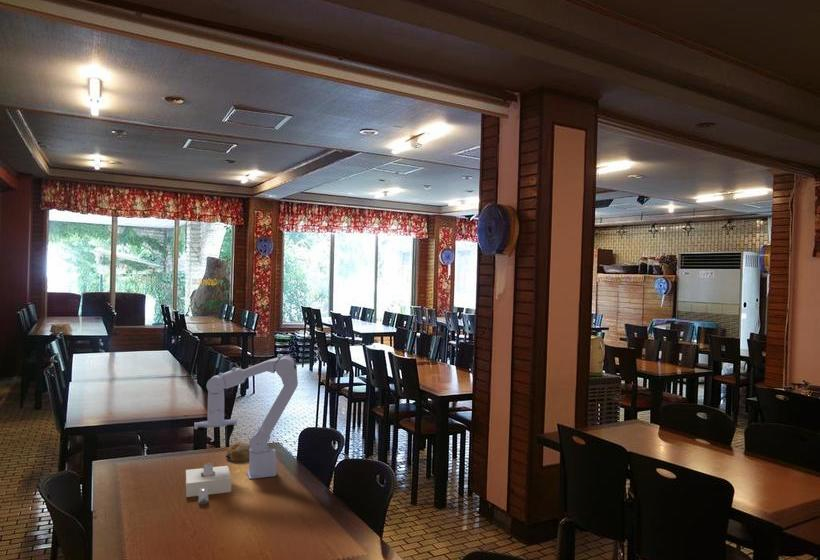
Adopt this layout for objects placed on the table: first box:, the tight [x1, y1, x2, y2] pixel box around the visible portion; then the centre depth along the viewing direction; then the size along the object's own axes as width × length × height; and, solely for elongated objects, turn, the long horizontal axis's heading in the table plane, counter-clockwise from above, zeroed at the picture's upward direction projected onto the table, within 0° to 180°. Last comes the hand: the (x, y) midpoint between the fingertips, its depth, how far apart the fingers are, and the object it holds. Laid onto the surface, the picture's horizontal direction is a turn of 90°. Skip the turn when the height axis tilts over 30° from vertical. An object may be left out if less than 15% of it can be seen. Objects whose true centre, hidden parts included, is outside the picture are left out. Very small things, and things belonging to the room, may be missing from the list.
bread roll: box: [225, 441, 250, 462], centre depth 231 cm, size 10×10×8 cm
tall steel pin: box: [203, 462, 214, 477], centre depth 199 cm, size 3×3×8 cm
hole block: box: [185, 465, 232, 498], centre depth 199 cm, size 14×14×4 cm
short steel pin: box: [197, 488, 209, 505], centre depth 186 cm, size 3×3×4 cm
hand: (215, 447), depth 211 cm, fingers open, 7 cm apart
